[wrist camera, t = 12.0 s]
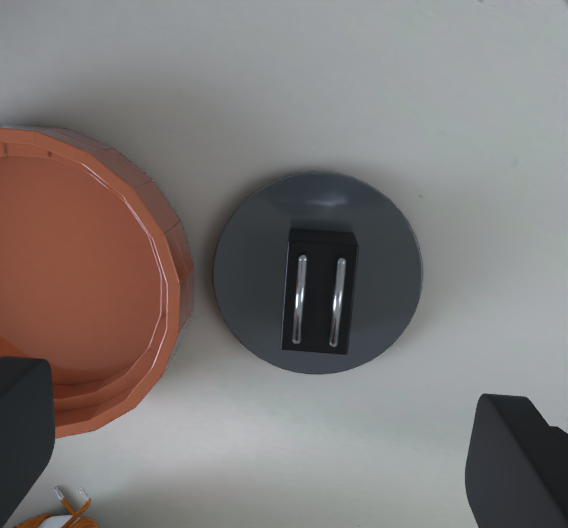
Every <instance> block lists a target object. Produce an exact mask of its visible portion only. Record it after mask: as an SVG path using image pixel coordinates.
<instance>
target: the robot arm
mask: <svg viewBox="0 0 568 528" xmlns="http://www.w3.org/2000/svg"><path fill="white" fill-rule="evenodd" d="M54 444H55V417H54V401H53V386H52V372H51V367H50V364H49V362H48V361H47V360H46V359H41V358H28V357H15V356H2V357H0V528H2V527H3V526H4V525H5V523H6V522H7V520H8V519H9V518H10V516H11V515H12V514H13V512H14V511H15V509H16V508H17V507H18V505H19V504H20V503H21V501H22V500H23V498H24V497H25V496H26V494H27V493H28V491H29V490H30V489H31V487H32V486H33V485H34V483H35V482H36V480H37V479H38V478H39V476H40V475H41V473H42V472H43V471H44V469H45V468H46V466H47V465H48V463H49V460H50V458H51V455H52V452H53V448H54ZM465 487H466V494H467V498H468V502H469V505H470V507H471V510H472V512H473V515H474V517H475V520H476V522H477V524H478V527H479V528H568V434H567V433H566V432H564V431H563V430H561V429H560V428H559V427H554V426H549V425H548V423H547V422H546V421H545V419H544V418H543V417H542V416H541V414H540V413H539V412H538V410H537V409H536V408H535V406H534V405H533V404H532V402H531V401H530V400H529V399H528V398H527V397H523V396H510V395H497V394H482V395H481V397H480V398H479V400H478V403H477V408H476V413H475V418H474V424H473V429H472V435H471V440H470V445H469V451H468V456H467V462H466V468H465Z"/></svg>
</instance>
